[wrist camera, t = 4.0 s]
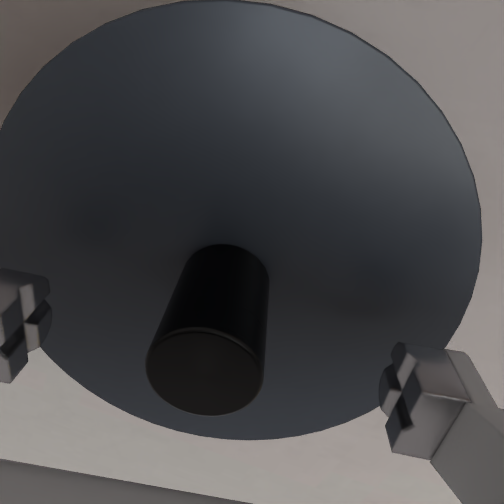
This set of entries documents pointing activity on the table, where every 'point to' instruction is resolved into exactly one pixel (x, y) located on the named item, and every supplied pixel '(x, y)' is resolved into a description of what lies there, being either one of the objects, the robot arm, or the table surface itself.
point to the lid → (236, 216)
